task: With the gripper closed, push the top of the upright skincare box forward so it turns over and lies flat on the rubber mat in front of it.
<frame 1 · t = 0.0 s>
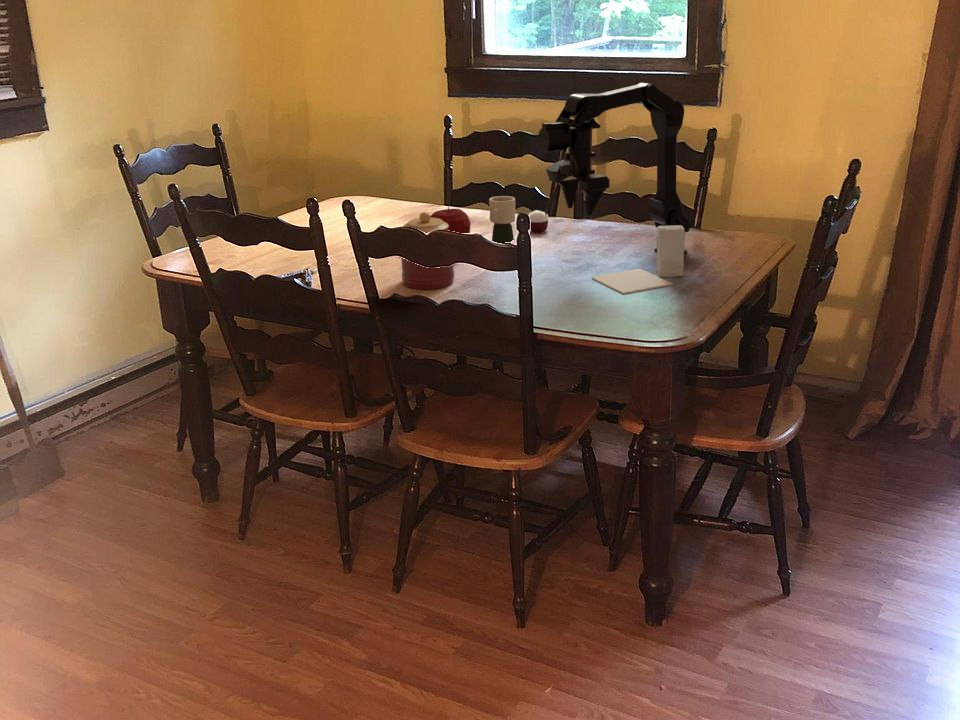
hand: (579, 211, 232), 15 cm above the table, fingers open, 9 cm apart
canister: (428, 283, 231), on the table
apple: (450, 256, 253), on the table
mat: (631, 281, 227), on the table
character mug: (503, 245, 261), on the table
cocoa: (538, 232, 272), on the table
skincare box: (669, 275, 231), on the table
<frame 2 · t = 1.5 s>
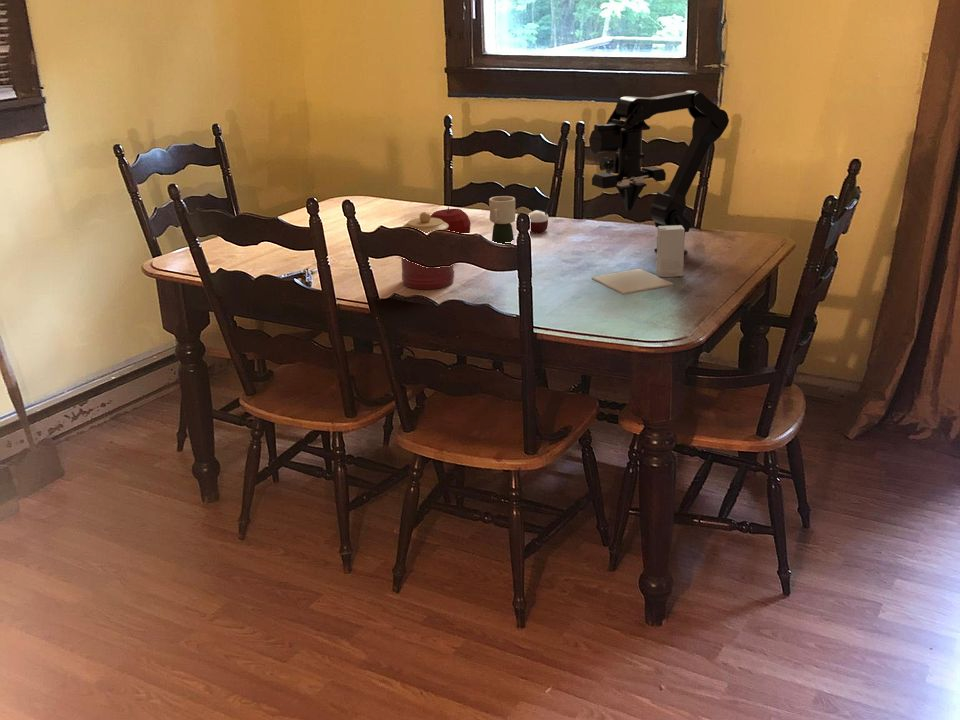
hand: (628, 211, 238), 13 cm above the table, fingers closed
nothing on the table moved.
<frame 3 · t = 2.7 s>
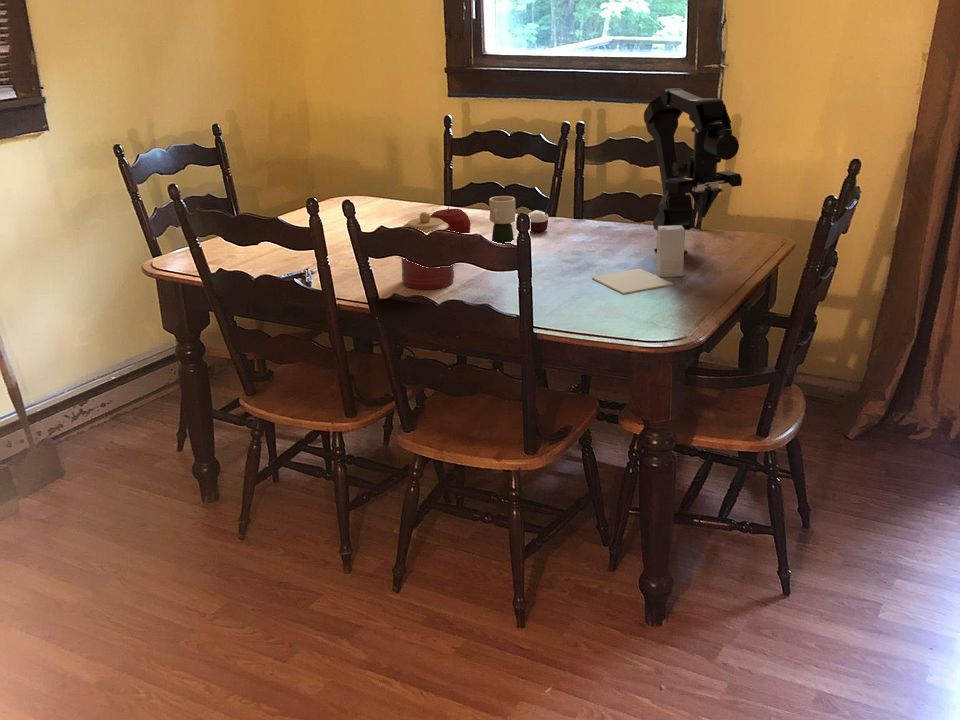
hand: (701, 217, 230), 13 cm above the table, fingers closed
nothing on the table moved.
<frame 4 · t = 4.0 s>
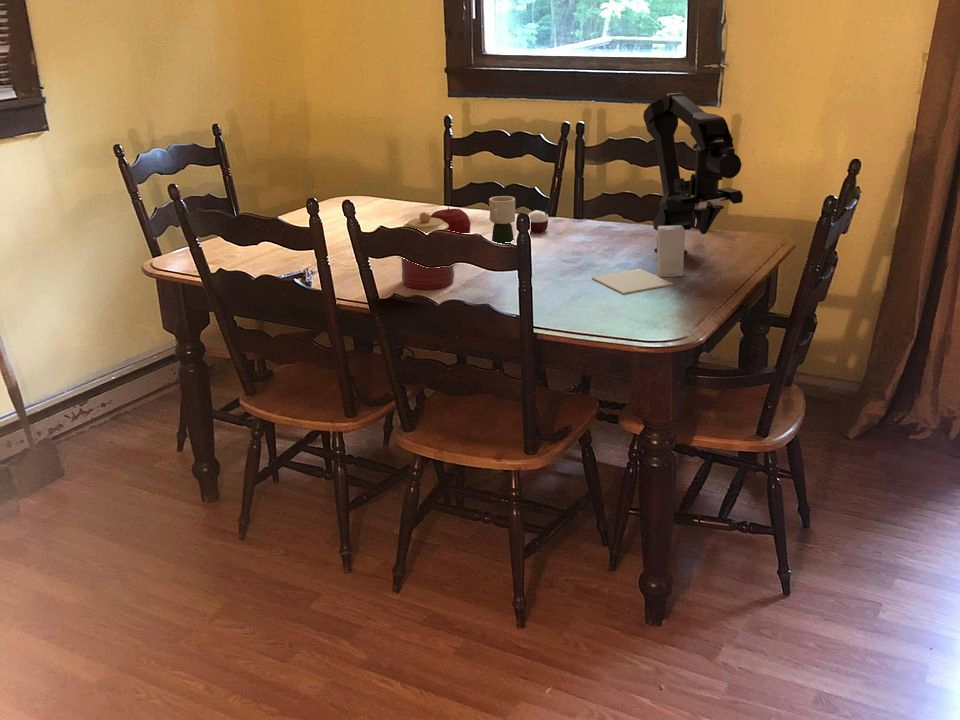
hand: (703, 233, 231), 9 cm above the table, fingers closed
nothing on the table moved.
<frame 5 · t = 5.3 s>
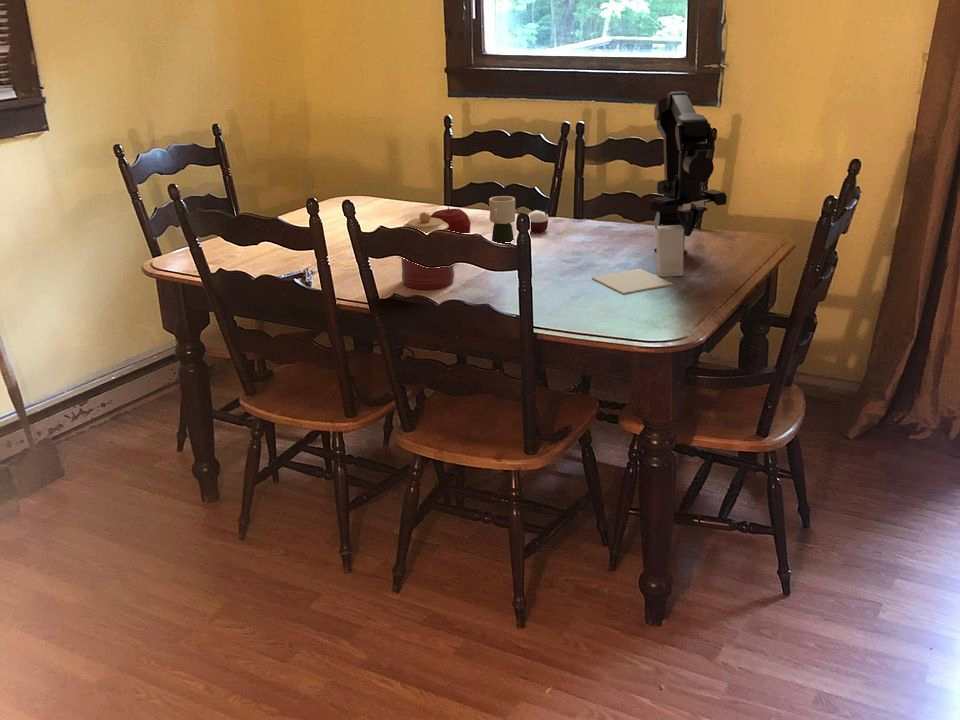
hand: (687, 236, 229), 9 cm above the table, fingers closed
skincare box: (669, 275, 231), on the table, touching gripper
everything else where it was.
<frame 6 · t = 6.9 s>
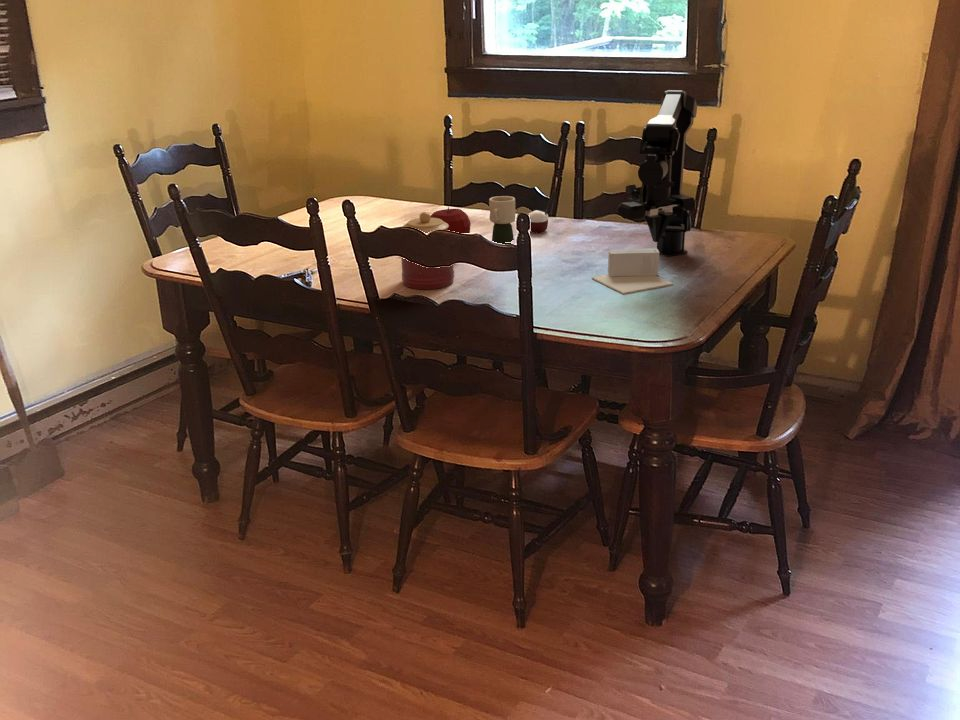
hand: (655, 241, 225), 9 cm above the table, fingers closed
skincare box: (658, 262, 230), point 3 cm above the table, touching mat
everything else where it was.
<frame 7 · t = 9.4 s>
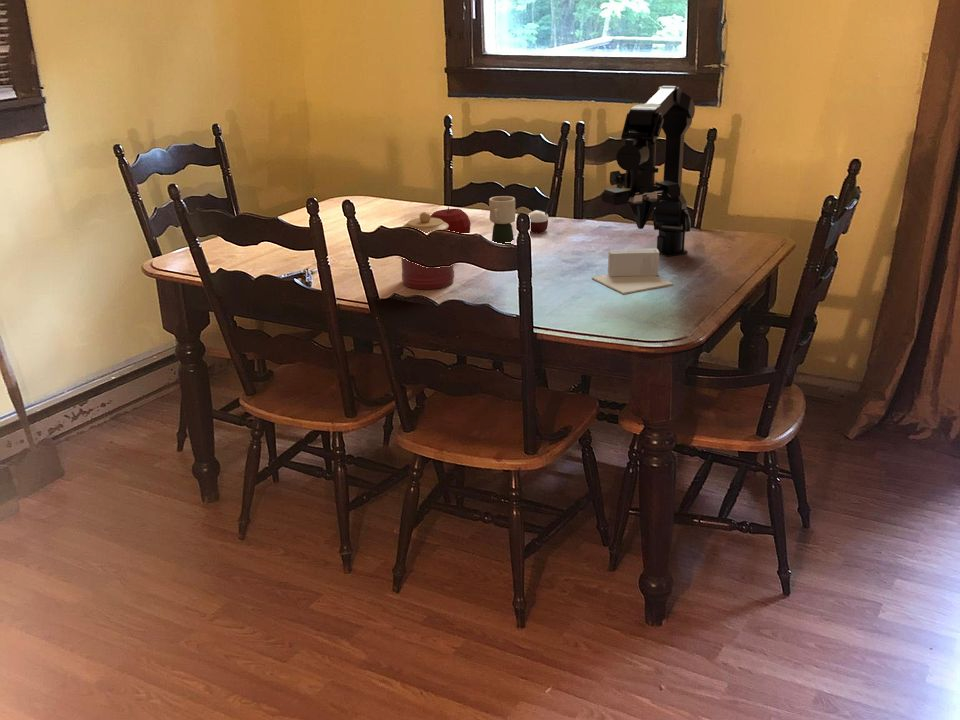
hand: (640, 228, 222), 13 cm above the table, fingers closed
nothing on the table moved.
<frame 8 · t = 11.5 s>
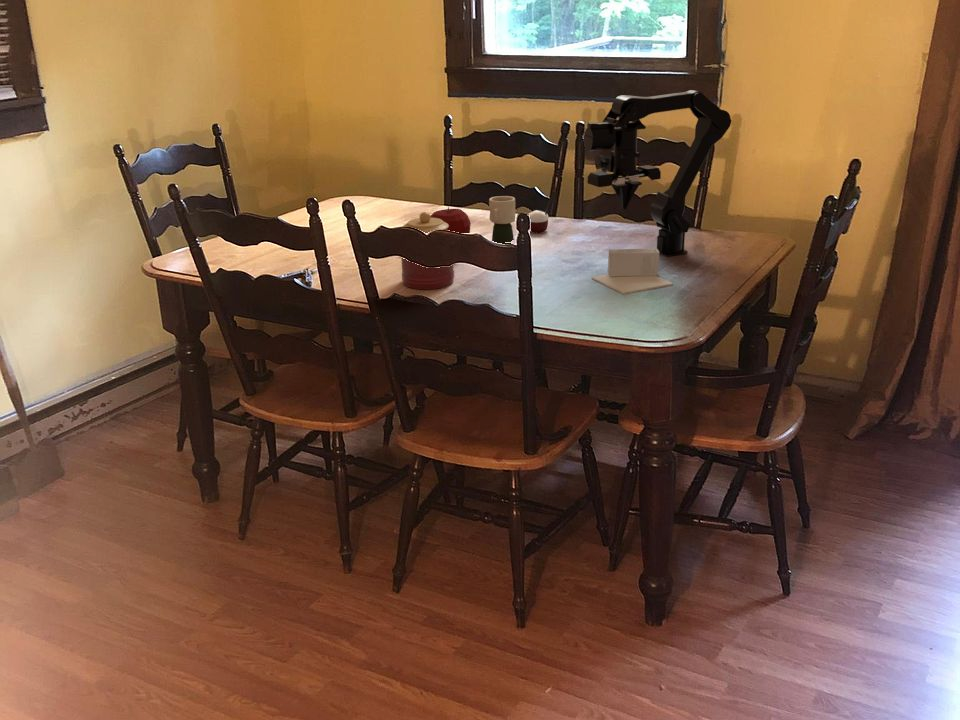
hand: (623, 209, 240), 13 cm above the table, fingers closed
nothing on the table moved.
at the end: skincare box tilted 89°; skincare box inside the target area (2.1 cm from its centre), point 3.2 cm above the table; skincare box touching mat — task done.
